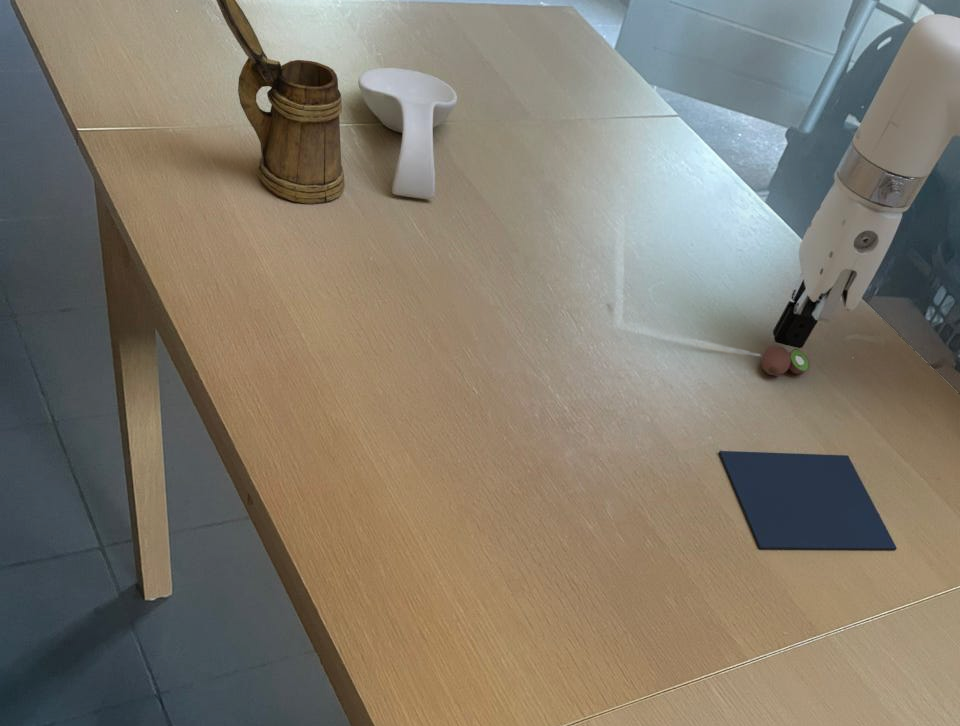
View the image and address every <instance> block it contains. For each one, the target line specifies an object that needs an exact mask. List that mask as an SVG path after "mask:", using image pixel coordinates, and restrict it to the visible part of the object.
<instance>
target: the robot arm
mask: <svg viewBox="0 0 960 726" xmlns="http://www.w3.org/2000/svg"><path fill="white" fill-rule="evenodd" d="M953 137H959V138H960V17H958V16H954V15H951V14H943V13H942V14H941V13H933V14H932V13H931V14H928V15H925V16H923V17H921V18H920V19H918V20H917V21H916V22H915V23H914V24H913V26H912V27H911V28H910V30H909V31H908V33H907V35H906V36H905V38H904V40H903V42H902V44H901V46H900V48H899V49H898V51H897V54H896V55H895V56H894V59H893V61H892V63H891V65H890V67H889V69H888V70H887V72H886V74H885V76H884V78H883V80H882V81H881V83H880V85H879V88H878V90H877V92H876V94H875V95H874V97H873V99H872V101H871V103H870V105H869V107H868V108H867V110H866V113H865V114H864V115H863V118H862V120H861V122H860V124H859V126H858V127H857V130H856V131H855V133H854V135H853V137H852V139H851V141H850V142H849V145H848V147H847V149H846V150H845V152H844V155H843V157H842V158H841V160H840V162H839V164H838V166H837V167H836V169H835V171H834V172H833V179H834V182H833V183H832V186H831V188H829V191H828V192H827V194H826V195H825V197H824V198H823V201H822V202H821V204H820V206H819V207H818V209H817V210H816V212H815V214H814V216H813V217H812V220H811V222H810V223H809V225H808V227H807V229H806V232H805V233H804V236H803V238H802V240H801V242H800V245H799V249H798V258H799V265H800V270H801V273H800V275H799V278H798V280H797V281H796V283H795V286H794V288H793V290H792V292H791V296H790V300H791V301H790V300H789V301H788V302H787V304H786V306H785V308H784V309H783V311H782V313H781V315H780V317H779V319H778V320H777V322H776V324H775V326H774V328H773V330H772V335H773V341H774V343H776V344H780V345H784V346H788V347H792V348H795V349H801V348H803V347H804V345H805V344H806V342H807V340H808V338H810V336H811V334H812V332H813V330H814V328H815V327H816V325H817V323H818V322H821V323H826V324H827V323H829V322H830V321H831V318H832V317H833V315H834V312H835V310H836V308H837V306H838V304H839V301H840V299H842V303H843V306H844V309H845V310H846V311H848V312H852V311H854V310H855V309H856V308H857V306H858V305H859V303H860V301H861V300H862V299H863V297H864V295H865V293H866V291H867V289H869V286H870V285H871V282H872V280H873V279H874V277H875V275H876V274H877V272H878V269H879V268H880V266H881V265H882V262H883V260H884V258H885V256H886V254H887V252H888V250H889V248H890V247H891V245H892V242H893V240H894V237H895V235H896V233H897V230H898V228H899V226H900V223H901V221H902V218H903V213H904V212H906V211H908V210H909V209H910V207H911V205H912V204H913V202H914V201H915V199H916V197H917V196H918V194H919V193H920V191H921V189H922V188H923V186H924V184H925V183H926V181H927V179H928V177H929V176H930V174H931V173H932V171H933V169H934V168H935V166H936V165H937V163H938V161H939V159H940V158H941V156H942V154H943V153H944V151H945V149H946V148H947V146H949V145H948V144H949V143H950V142H951V140H952V138H953Z"/></svg>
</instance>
